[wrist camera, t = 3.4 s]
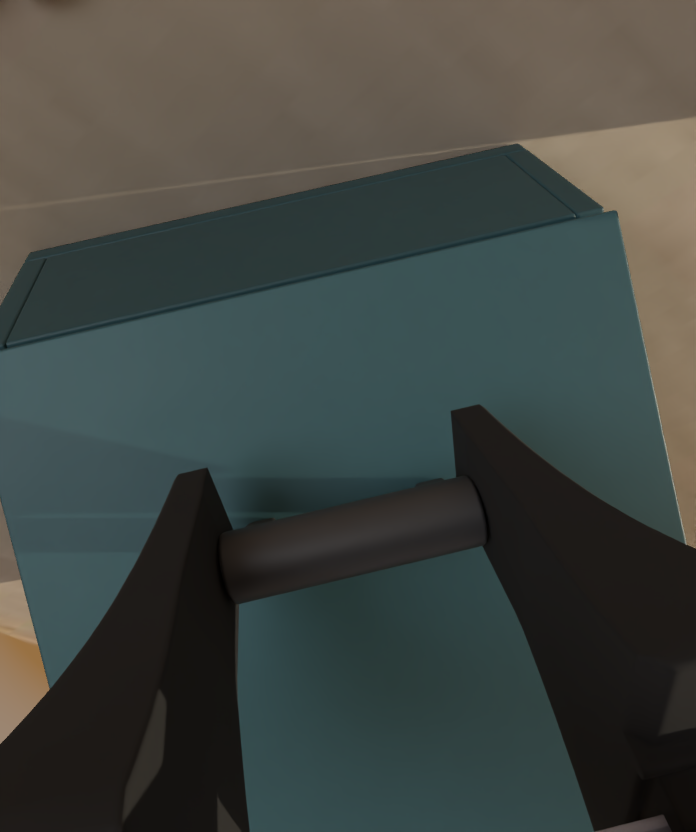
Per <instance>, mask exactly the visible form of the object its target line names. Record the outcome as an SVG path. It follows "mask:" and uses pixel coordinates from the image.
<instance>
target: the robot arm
mask: <svg viewBox="0 0 696 832" xmlns="http://www.w3.org/2000/svg"><path fill="white" fill-rule="evenodd" d="M451 422H452V434H453V446H454V458H455V470H456V477H459V476H464V475H465V476H469V477H470V478H471V480H472V481H473V483H474V484H475V486H476V488H477V491H478V493H479V496H480V499H481V502H482V505H483V509H484V513H485V518H486V523H487V531H488V537H487V543H486V544H485V545H483V548H484V550H485V552H486V555H487V557H488V559H489V561H490V563H491V565H492V567H493V569H494V571H495V573H496V575H497V577H498V579H499V581H500V583H501V585H502V587H503V589H504V591H505V593H506V595H507V597H508V599H509V601H510V603H511V605H512V607H513V609H514V611H515V613H516V615H517V618H518V620H519V622H520V624H521V627H522V629H523V631H524V634H525V636H526V639H527V642H528V644H529V647H530V650H531V652H532V655H533V658H534V660H535V663H536V666H537V668H538V671H539V673H540V676H541V679H542V682H543V685H544V687H545V690H546V693H547V696H548V698H549V701H550V704H551V707H552V709H553V712H554V715H555V718H556V720H557V723H558V726H559V729H560V732H561V735H562V738H563V741H564V743H565V746H566V749H567V752H568V755H569V758H570V761H571V764H572V766H573V769H574V772H575V775H576V778H577V781H578V784H579V787H580V790H581V793H582V796H583V799H584V802H585V805H586V808H587V811H588V814H589V817H590V820H591V824H592V827H593V830H594V832H696V549H695V548H693V547H691V546H688V545H686V544H684V543H682V542H680V541H678V540H676V539H674V538H672V537H670V536H667V535H665V534H663V533H661V532H659V531H657V530H655V529H653V528H651V527H649V526H647V525H645V524H643V523H641V522H639V521H637V520H636V519H634V518H632V517H630V516H628V515H627V514H625V513H623V512H621V511H620V510H618V509H616V508H615V507H613V506H611V505H610V504H608V503H606V502H605V501H603V500H602V499H600V498H598V497H597V496H595V495H594V494H592V493H591V492H589V491H588V490H586V489H585V488H583V487H582V486H580V485H579V484H578V483H576V482H575V481H573V480H572V479H570V478H569V477H567V476H566V475H565V474H563V473H562V472H561V471H559V470H558V469H557V468H555V467H554V466H553V465H551V464H550V463H549V462H548V461H546V460H545V459H544V458H542V457H541V456H540V455H539V454H537V453H536V452H535V451H534V450H532V449H531V448H530V447H529V446H527V445H526V444H525V443H524V442H523V441H521V440H520V439H519V438H518V437H517V436H516V435H514V434H513V433H512V432H511V431H510V430H509V429H508V428H506V427H505V426H504V425H503V424H502V423H501V422H500V421H499V420H498V419H496V418H495V417H494V416H493V415H492V414H491V413H490V412H489V411H488V410H487V409H486V408H485V407H483V406H482V405H480V404H477V405H473V406H469V407H465V408H460V409H456V410H452V411H451ZM231 530H233V528H232V525H231V523H230V521H229V518H228V516H227V513H226V511H225V509H224V506H223V504H222V501H221V499H220V496H219V494H218V492H217V489H216V487H215V484H214V482H213V480H212V477H211V475H210V472H209V470H208V468H203V469H198V470H194V471H190V472H186V473H181V474H178V475H177V477H176V478H175V480H174V482H173V485H172V487H171V489H170V491H169V494H168V496H167V498H166V501H165V503H164V505H163V507H162V510H161V512H160V514H159V516H158V518H157V520H156V523H155V525H154V527H153V529H152V531H151V533H150V535H149V537H148V539H147V541H146V543H145V545H144V547H143V549H142V551H141V553H140V555H139V557H138V559H137V561H136V563H135V564H134V566H133V568H132V570H131V572H130V573H129V575H128V577H127V579H126V580H125V582H124V584H123V586H122V587H121V589H120V591H119V593H118V594H117V596H116V598H115V599H114V601H113V603H112V604H111V606H110V607H109V609H108V611H107V612H106V614H105V615H104V617H103V618H102V620H101V621H100V623H99V624H98V626H97V627H96V629H95V630H94V632H93V633H92V635H91V636H90V637H89V639H88V640H87V642H86V643H85V645H84V646H83V647H82V649H81V650H80V651H79V653H78V654H77V655H76V657H75V658H74V659H73V661H72V662H71V663H70V665H69V666H68V667H67V668H66V670H65V671H64V672H63V673H62V675H61V676H60V677H59V679H58V680H57V681H56V682H55V684H54V685H53V686H52V687H51V689H50V690H49V691H48V692H47V693H46V695H45V696H44V697H43V698H42V699H41V700H40V702H39V703H38V704H37V705H36V706H35V707H34V708H33V709H32V711H31V712H30V713H29V714H28V715H27V716H26V717H25V718H24V719H23V721H22V722H21V723H20V724H19V725H18V726H17V727H16V728H15V729H14V730H13V731H12V733H11V734H10V735H9V736H8V737H7V738H6V739H5V740H4V741H3V742H2V743H1V744H0V832H250V828H249V819H248V810H247V800H246V791H245V780H244V769H243V758H242V747H241V735H240V722H239V709H238V685H237V672H238V630H239V604H234V603H233V602H232V601H231V600H230V598H229V596H228V594H227V592H226V589H225V586H224V583H223V579H222V575H221V570H220V564H219V555H218V544H219V537H220V535H221V534H222V533H224V532H227V531H231Z"/></svg>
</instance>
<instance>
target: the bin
mask: <svg viewBox="0 0 696 832" xmlns="http://www.w3.org/2000/svg"><path fill="white" fill-rule="evenodd" d="M600 213H604V209H603V207H602V206H601V205H599V204H598V203H597V202H595V201H594V200H593V199H591V198H590V197H589V196H587V195H586V194H585V193H583V192H582V191H581V190H579V189H578V188H577V187H575V186H574V185H573V184H571V183H570V182H569V181H567V180H566V179H565V178H564V177H562V176H561V175H560V174H558V173H557V172H556V171H554V170H553V169H552V168H550V167H549V166H548V165H546V164H545V163H544V162H542V161H541V160H540V159H538V158H537V157H536V156H534V155H533V154H532V153H530V152H529V151H528V150H526V149H525V148H523V147H522V146H521V145H519V144H513V145H509V146H504V147H500V148H495V149H491V150H486V151H482V152H478V153H473V154H469V155H464V156H460V157H455V158H451V159H446V160H442V161H437V162H433V163H428V164H424V165H420V166H415V167H411V168H406V169H402V170H397V171H393V172H388V173H384V174H379V175H375V176H370V177H366V178H362V179H357V180H353V181H348V182H344V183H339V184H335V185H330V186H326V187H321V188H317V189H312V190H308V191H304V192H299V193H295V194H290V195H286V196H281V197H277V198H272V199H268V200H263V201H259V202H254V203H250V204H246V205H241V206H237V207H232V208H228V209H223V210H219V211H214V212H210V213H205V214H201V215H196V216H192V217H187V218H183V219H179V220H174V221H170V222H165V223H161V224H156V225H152V226H147V227H143V228H138V229H134V230H129V231H125V232H121V233H116V234H112V235H107V236H103V237H98V238H94V239H89V240H85V241H80V242H76V243H71V244H67V245H63V246H58V247H54V248H49V249H45V250H40V251H36V252H31V253H30V254H29V255H28V257H27V259H26V260H25V263H24V264H23V266H22V268H21V269H20V271H19V273H18V275H17V277H16V278H15V280H14V282H13V284H12V286H11V288H10V289H9V291H8V293H7V295H6V297H5V299H4V300H3V302H2V304H1V306H0V350H2V349H7V348H11V347H16V346H20V345H24V344H29V343H33V342H38V341H42V340H46V339H51V338H55V337H59V336H64V335H68V334H73V333H77V332H81V331H86V330H90V329H95V328H99V327H103V326H108V325H112V324H117V323H121V322H125V321H130V320H134V319H139V318H143V317H147V316H152V315H156V314H161V313H165V312H169V311H174V310H178V309H183V308H187V307H191V306H196V305H200V304H205V303H209V302H213V301H218V300H222V299H226V298H231V297H235V296H240V295H244V294H248V293H253V292H257V291H262V290H266V289H270V288H275V287H279V286H284V285H288V284H292V283H297V282H301V281H306V280H310V279H314V278H319V277H323V276H328V275H332V274H336V273H341V272H345V271H350V270H354V269H358V268H363V267H367V266H372V265H376V264H380V263H385V262H389V261H393V260H398V259H402V258H407V257H411V256H415V255H420V254H424V253H429V252H433V251H437V250H442V249H446V248H451V247H455V246H459V245H464V244H468V243H473V242H477V241H481V240H486V239H490V238H495V237H499V236H503V235H508V234H512V233H517V232H521V231H525V230H530V229H534V228H539V227H543V226H547V225H552V224H556V223H561V222H565V221H569V220H574V219H578V218H582V217H587V216H591V215H596V214H600Z"/></svg>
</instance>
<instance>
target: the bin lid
mask: <svg viewBox="0 0 696 832" xmlns="http://www.w3.org/2000/svg"><path fill="white" fill-rule="evenodd" d="M477 404H480V405H482V406H483V407H485V408H486V409H487V410H488V411H489V412H490V413H491V414H492V415H493V416H494V417H495V418H496V419H498V420H499V421H500V422H501V423H502V424H503V425H504V426H505V427H506V428H508V429H509V430H510V431H511V432H512V433H513V434H514V435H516V436H517V437H518V438H519V439H520V440H521V441H523V442H524V443H525V444H526V445H527V446H529V447H530V448H531V449H532V450H534V451H535V452H536V453H537V454H539V455H540V456H541V457H542V458H544V459H545V460H546V461H548V462H549V463H550V464H551V465H553V466H554V467H555V468H557V469H558V470H559V471H561V472H562V473H563V474H565V475H566V476H567V477H569V478H570V479H572V480H573V481H575V482H576V483H578V484H579V485H580V486H582V487H583V488H585V489H586V490H588V491H589V492H591V493H592V494H594V495H595V496H597V497H598V498H600V499H602V500H603V501H605V502H606V503H608V504H610V505H611V506H613V507H615V508H616V509H618V510H620V511H621V512H623V513H625V514H627V515H628V516H630V517H632V518H634V519H636V520H637V521H639V522H641V523H643V524H645V525H647V526H649V527H651V528H653V529H655V530H657V531H659V532H661V533H663V534H665V535H667V536H670V537H672V538H674V539H676V540H678V541H680V542H682V543H684V544H686V539H685V534H684V529H683V525H682V520H681V515H680V510H679V506H678V501H677V496H676V491H675V486H674V482H673V477H672V472H671V467H670V462H669V458H668V453H667V448H666V443H665V438H664V434H663V429H662V424H661V419H660V415H659V410H658V405H657V400H656V395H655V391H654V386H653V381H652V376H651V371H650V367H649V362H648V357H647V352H646V347H645V343H644V338H643V333H642V328H641V324H640V319H639V314H638V309H637V304H636V300H635V295H634V290H633V285H632V280H631V276H630V271H629V266H628V261H627V256H626V252H625V247H624V242H623V237H622V233H621V228H620V223H619V218H618V213H617V211H614V210H613V211H609V212H604V213H600V214H596V215H591V216H587V217H582V218H578V219H574V220H569V221H565V222H561V223H556V224H552V225H547V226H543V227H539V228H534V229H530V230H525V231H521V232H517V233H512V234H508V235H503V236H499V237H495V238H490V239H486V240H481V241H477V242H473V243H468V244H464V245H459V246H455V247H451V248H446V249H442V250H437V251H433V252H429V253H424V254H420V255H415V256H411V257H407V258H402V259H398V260H393V261H389V262H385V263H380V264H376V265H372V266H367V267H363V268H358V269H354V270H350V271H345V272H341V273H336V274H332V275H328V276H323V277H319V278H314V279H310V280H306V281H301V282H297V283H292V284H288V285H284V286H279V287H275V288H270V289H266V290H262V291H257V292H253V293H248V294H244V295H240V296H235V297H231V298H226V299H222V300H218V301H213V302H209V303H205V304H200V305H196V306H191V307H187V308H183V309H178V310H174V311H169V312H165V313H161V314H156V315H152V316H147V317H143V318H139V319H134V320H130V321H125V322H121V323H117V324H112V325H108V326H103V327H99V328H95V329H90V330H86V331H81V332H77V333H73V334H68V335H64V336H59V337H55V338H51V339H46V340H42V341H38V342H33V343H29V344H24V345H20V346H16V347H11V348H7V349H2V350H0V499H1V503H2V507H3V511H4V515H5V518H6V522H7V526H8V530H9V534H10V538H11V542H12V545H13V549H14V553H15V557H16V561H17V565H18V569H19V572H20V576H21V580H22V584H23V588H24V592H25V596H26V599H27V603H28V607H29V611H30V615H31V619H32V623H33V626H34V630H35V634H36V638H37V642H38V646H39V650H40V653H41V657H42V661H43V665H44V669H45V673H46V676H47V680H48V684H49V688H50V689H51V687H52V686H53V685H54V684H55V682H56V681H57V680H58V679H59V677H60V676H61V675H62V673H63V672H64V671H65V670H66V668H67V667H68V666H69V665H70V663H71V662H72V661H73V659H74V658H75V657H76V655H77V654H78V653H79V651H80V650H81V649H82V647H83V646H84V645H85V643H86V642H87V640H88V639H89V637H90V636H91V635H92V633H93V632H94V630H95V629H96V627H97V626H98V624H99V623H100V621H101V620H102V618H103V617H104V615H105V614H106V612H107V611H108V609H109V607H110V606H111V604H112V603H113V601H114V599H115V598H116V596H117V594H118V593H119V591H120V589H121V587H122V586H123V584H124V582H125V580H126V579H127V577H128V575H129V573H130V572H131V570H132V568H133V566H134V564H135V563H136V561H137V559H138V557H139V555H140V553H141V551H142V549H143V547H144V545H145V543H146V541H147V539H148V537H149V535H150V533H151V531H152V529H153V527H154V525H155V523H156V520H157V518H158V516H159V514H160V512H161V510H162V507H163V505H164V503H165V501H166V498H167V496H168V494H169V491H170V489H171V487H172V485H173V482H174V480H175V478H176V477H177V475H178V474H181V473H186V472H190V471H194V470H198V469H203V468H208V470H209V472H210V475H211V477H212V480H213V482H214V484H215V487H216V489H217V492H218V494H219V496H220V499H221V501H222V504H223V506H224V509H225V511H226V513H227V516H228V518H229V521H230V523H231V525H232V528H233V530H231V531H227V532H224V533H222V534H221V535H220V537H219V544H218V555H219V564H220V570H221V575H222V579H223V583H224V586H225V589H226V592H227V594H228V596H229V598H230V600H231V601H232V602H233V603H234V604H239V630H238V672H237V685H238V709H239V722H240V735H241V747H242V758H243V769H244V780H245V791H246V800H247V810H248V819H249V828H250V832H594V830H593V827H592V824H591V820H590V817H589V814H588V811H587V808H586V805H585V802H584V799H583V796H582V793H581V790H580V787H579V784H578V781H577V778H576V775H575V772H574V769H573V766H572V764H571V761H570V758H569V755H568V752H567V749H566V746H565V743H564V741H563V738H562V735H561V732H560V729H559V726H558V723H557V720H556V718H555V715H554V712H553V709H552V707H551V704H550V701H549V698H548V696H547V693H546V690H545V687H544V685H543V682H542V679H541V676H540V673H539V671H538V668H537V666H536V663H535V660H534V658H533V655H532V652H531V650H530V647H529V644H528V642H527V639H526V636H525V634H524V631H523V629H522V627H521V624H520V622H519V620H518V618H517V615H516V613H515V611H514V609H513V607H512V605H511V603H510V601H509V599H508V597H507V595H506V593H505V591H504V589H503V587H502V585H501V583H500V581H499V579H498V577H497V575H496V573H495V571H494V569H493V567H492V565H491V563H490V561H489V559H488V557H487V555H486V552H485V550H484V548H483V545H485V544H486V543H487V537H488V531H487V523H486V518H485V513H484V509H483V505H482V502H481V499H480V496H479V493H478V491H477V488H476V486H475V484H474V483H473V481H472V480H471V478H470V477H469V476H465V475H464V476H459V477H456V470H455V458H454V446H453V434H452V422H451V411H452V410H456V409H460V408H465V407H469V406H473V405H477ZM686 545H687V544H686Z"/></svg>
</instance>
